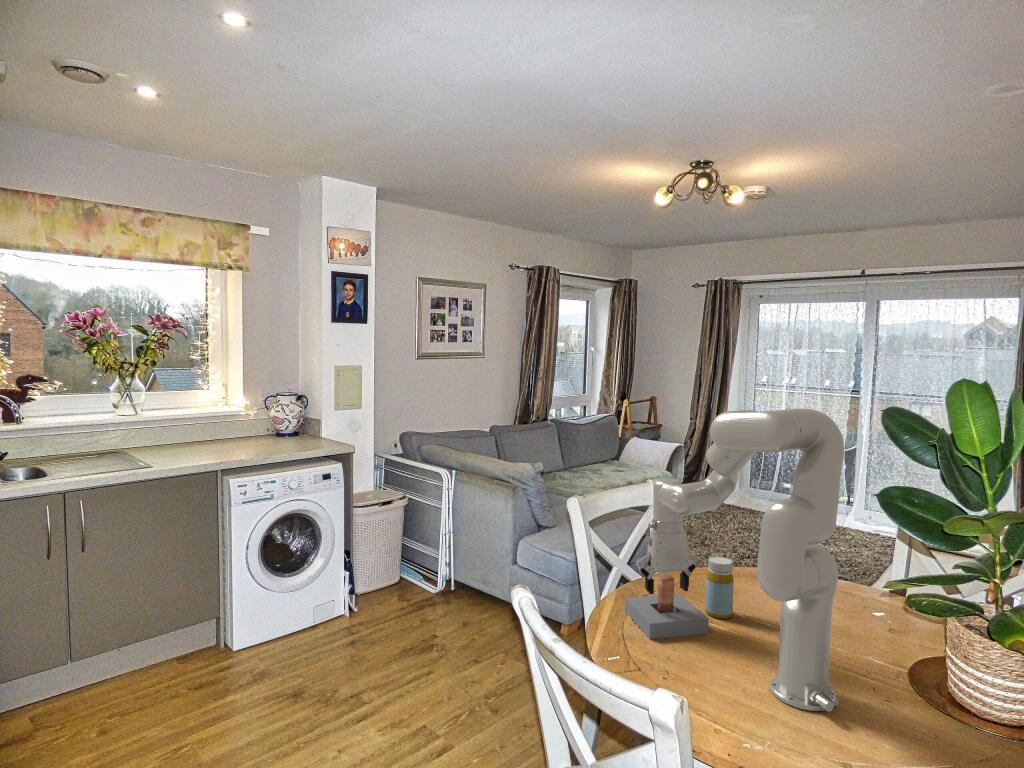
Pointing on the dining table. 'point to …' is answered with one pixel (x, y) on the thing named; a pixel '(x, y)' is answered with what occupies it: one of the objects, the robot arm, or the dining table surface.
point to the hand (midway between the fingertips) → (667, 591)
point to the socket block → (666, 617)
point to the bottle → (719, 588)
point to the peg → (665, 594)
